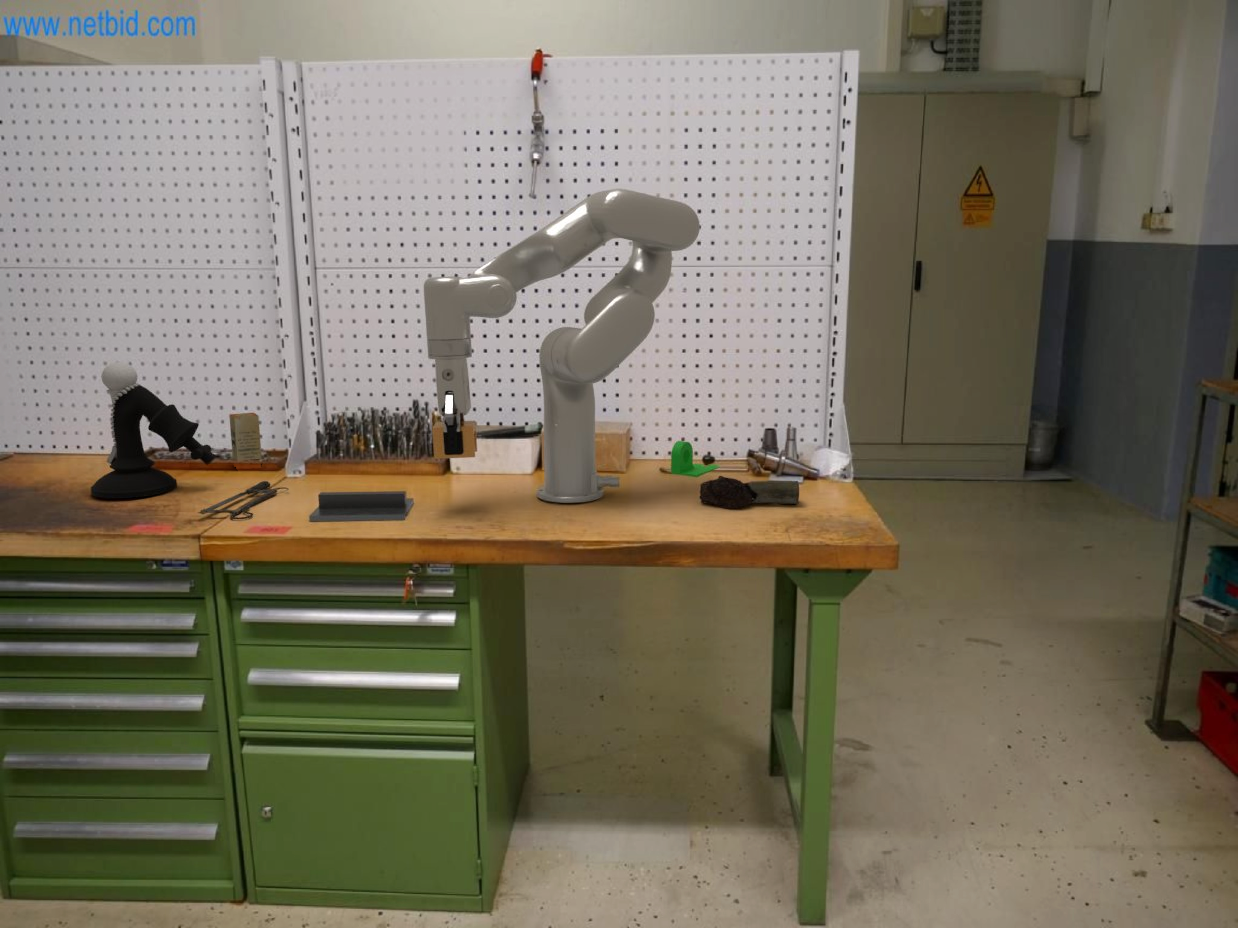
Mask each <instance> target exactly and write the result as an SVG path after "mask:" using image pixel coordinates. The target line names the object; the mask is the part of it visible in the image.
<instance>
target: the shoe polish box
mask: <svg viewBox="0 0 1238 928" xmlns="http://www.w3.org/2000/svg"><path fill="white" fill-rule="evenodd" d="M259 417H260V416H259V414H256V413H255V412H246V413H245V412H243V413H242V412H241V413H231V414H230V413H229V416H228V418H229V427H230V441H231V442H230V443H231V453H232V458H233V457H234V458H235V459H236V460H237V461H244V460H250V459H263V458H262V447H261V432H260V431H261V430H260V418H259Z"/></svg>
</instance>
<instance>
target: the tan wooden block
mask: <svg viewBox="0 0 1238 928" xmlns="http://www.w3.org/2000/svg"><path fill="white" fill-rule="evenodd" d="M431 429H432V431H431V432H432V444H433V456H434V458H433V459H434V460H435V459H437V460H439V459H441V460H443V459H464V458H475V457H476V452H478V442H477V441H478V440H477V423H476V420H464V421H460V431H462V438H463V454H461V455H445V452H444V437H443V432H444V421H436V422H435V423H434V425H433V426H432V428H431Z"/></svg>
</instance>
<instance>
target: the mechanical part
mask: <svg viewBox="0 0 1238 928" xmlns="http://www.w3.org/2000/svg"><path fill="white" fill-rule="evenodd" d="M670 455H671V457H670V458H671V459H670V461H671V462H670V474H673V475H677V476H679V475H680V476H686V477H691V478H692V477H693V478H698V477H700V476H703V475H705V474H707V473H710V472H711V471H714V470H716V469H718V468H720V465H718V464H709V465H710V466H709V465H707V466H705V465H704V464H705V463H693V461H694V458H693V457H694V456H693V455H694V449H693V445H692V444H691V442H689V441H681V440H678V441H676V442H674V444H673V445H672V450H671V454H670Z"/></svg>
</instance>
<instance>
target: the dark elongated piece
mask: <svg viewBox="0 0 1238 928" xmlns="http://www.w3.org/2000/svg"><path fill="white" fill-rule="evenodd" d="M699 487H700V489H699V496H698V497H699V500H700V502H701V503H705V504H706V505H714V506H717V507H723V508H725V509H727V510H732V509H735V510H741V509H743V508H745V507H746V506H748V505H749V504H751V503H752V504H781V505H782V504H783V505H796V504H797V505H798V504H799V500H800V483H799V481H798V480H761V481H760V480H753V481H752V480H751V481H748V482H744V483H743V482H742V481H741V480H739V479H736V478H733V477H726V476H725V477H724V476H722V475H719V476H718V477H717V478H716V479H709V480H707V481H704V482H702V483H700V486H699Z"/></svg>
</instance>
